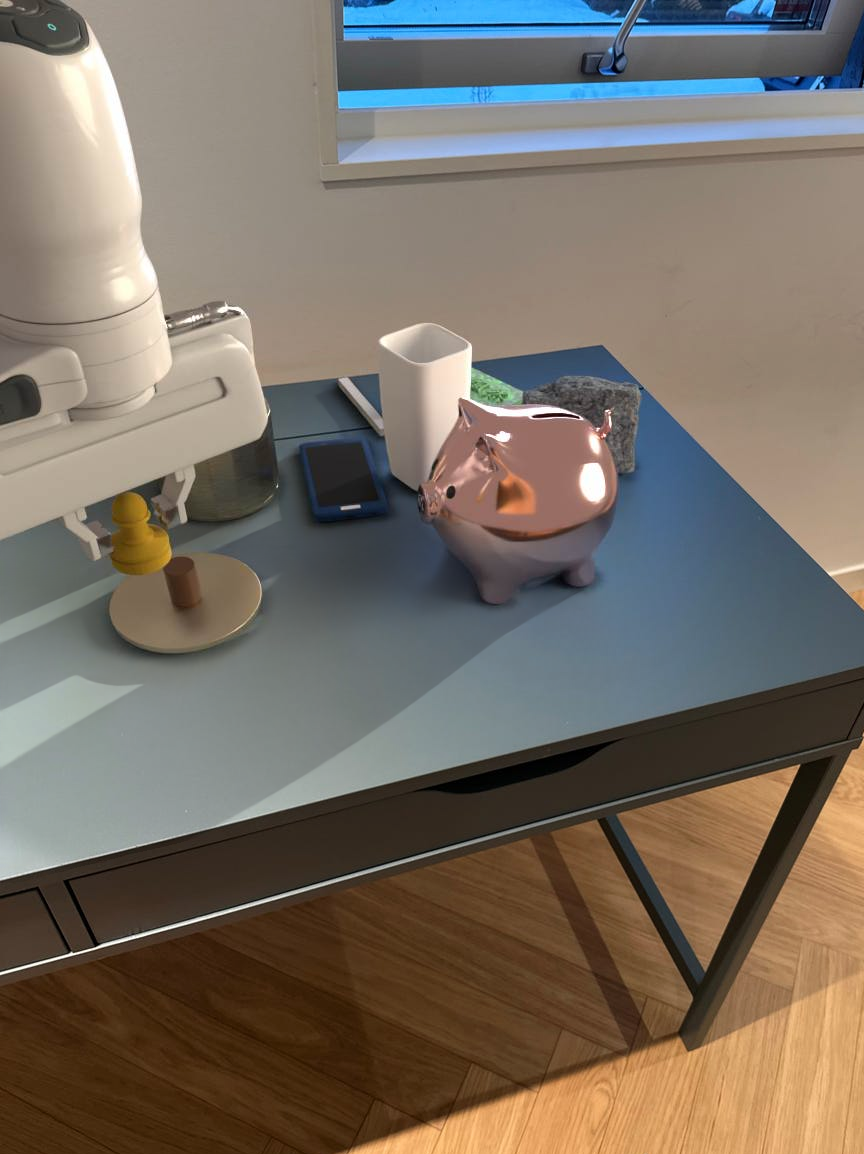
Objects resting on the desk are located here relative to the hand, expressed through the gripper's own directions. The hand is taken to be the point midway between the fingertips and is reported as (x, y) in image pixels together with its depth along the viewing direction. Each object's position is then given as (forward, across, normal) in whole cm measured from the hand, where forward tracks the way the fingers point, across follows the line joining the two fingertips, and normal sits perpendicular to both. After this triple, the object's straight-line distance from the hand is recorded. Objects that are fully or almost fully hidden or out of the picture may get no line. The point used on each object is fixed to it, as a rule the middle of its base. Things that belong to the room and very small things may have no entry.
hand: (135, 537), depth 62 cm
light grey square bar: (+17, -39, -27) cm, 51 cm away
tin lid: (+16, -7, -10) cm, 20 cm away
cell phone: (+16, -29, -17) cm, 37 cm away
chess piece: (+2, 0, 0) cm, 2 cm away
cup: (+17, -36, -12) cm, 41 cm away
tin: (+17, -18, -24) cm, 34 cm away
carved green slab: (+17, -48, -20) cm, 54 cm away
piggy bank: (+16, -33, +4) cm, 37 cm away
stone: (+16, -50, -3) cm, 52 cm away
